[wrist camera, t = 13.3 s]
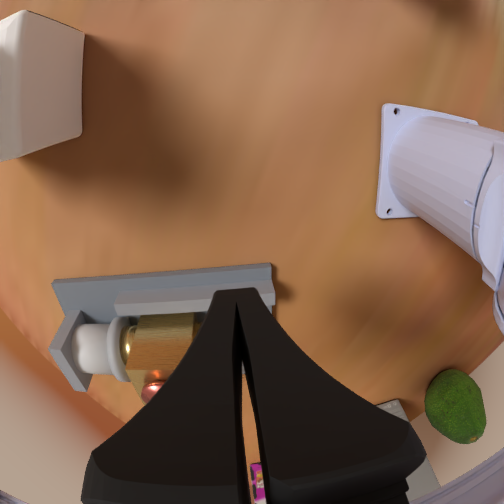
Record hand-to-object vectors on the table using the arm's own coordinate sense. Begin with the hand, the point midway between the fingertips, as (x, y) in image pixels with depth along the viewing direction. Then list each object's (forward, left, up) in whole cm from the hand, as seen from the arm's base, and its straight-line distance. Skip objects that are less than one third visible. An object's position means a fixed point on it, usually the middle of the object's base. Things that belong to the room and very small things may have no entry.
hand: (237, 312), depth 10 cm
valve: (+5, +9, -9) cm, 14 cm away
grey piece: (+6, +9, -10) cm, 15 cm away
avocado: (-26, +25, -10) cm, 37 cm away
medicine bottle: (+12, -10, -10) cm, 19 cm away
